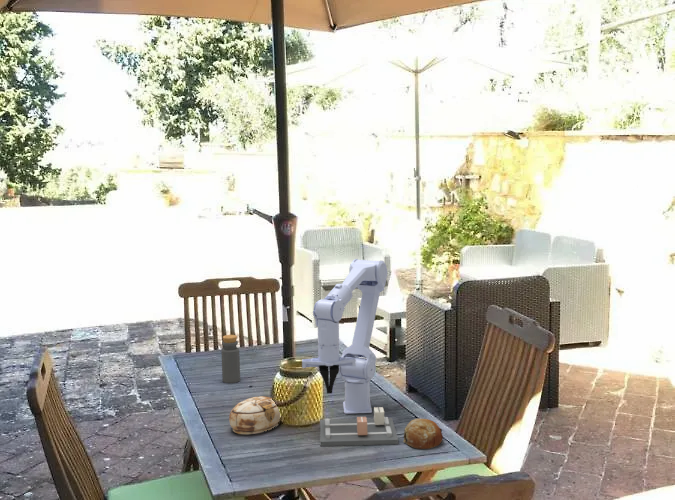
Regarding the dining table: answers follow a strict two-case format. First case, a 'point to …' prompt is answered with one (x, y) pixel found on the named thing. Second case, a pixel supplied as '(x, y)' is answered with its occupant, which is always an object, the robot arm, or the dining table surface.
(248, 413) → the trinket box
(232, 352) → the bottle
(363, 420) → the fader
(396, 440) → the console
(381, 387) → the dining table surface
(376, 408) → the fader
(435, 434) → the bread roll
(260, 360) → the dining table surface
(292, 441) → the dining table surface
